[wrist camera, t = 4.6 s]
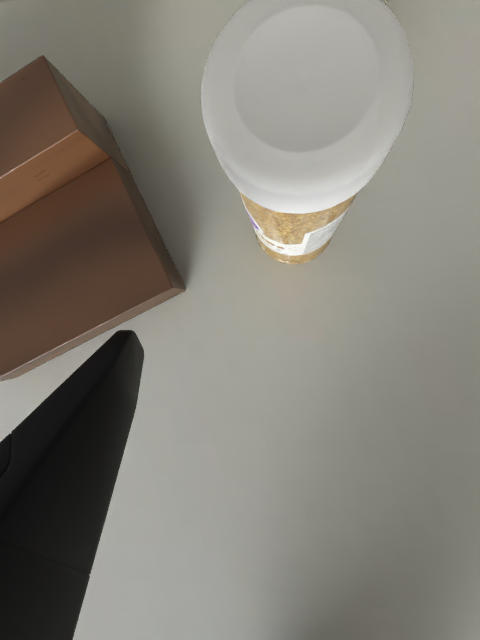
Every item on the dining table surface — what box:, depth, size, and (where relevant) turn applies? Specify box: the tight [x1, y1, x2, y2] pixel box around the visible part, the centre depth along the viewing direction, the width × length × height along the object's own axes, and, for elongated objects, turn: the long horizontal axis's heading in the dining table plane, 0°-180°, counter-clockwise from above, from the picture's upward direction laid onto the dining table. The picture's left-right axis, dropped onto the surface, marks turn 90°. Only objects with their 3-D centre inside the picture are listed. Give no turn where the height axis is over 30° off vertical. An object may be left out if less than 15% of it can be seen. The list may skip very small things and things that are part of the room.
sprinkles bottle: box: [201, 0, 414, 264], centre depth 14 cm, size 5×5×14 cm
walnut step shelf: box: [0, 55, 186, 381], centre depth 20 cm, size 12×13×6 cm
